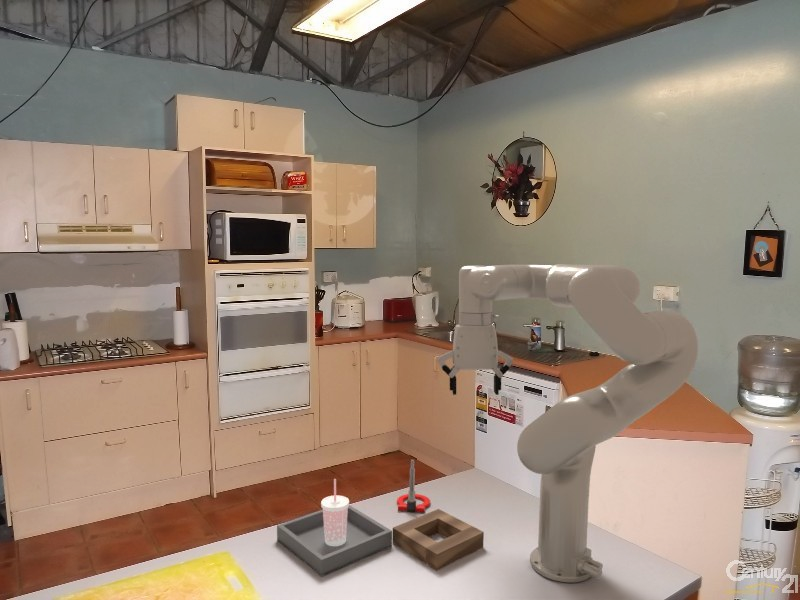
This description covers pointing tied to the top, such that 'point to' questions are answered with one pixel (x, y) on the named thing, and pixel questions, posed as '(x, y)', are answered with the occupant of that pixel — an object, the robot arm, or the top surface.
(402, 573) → the top surface
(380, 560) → the top surface
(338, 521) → the beverage cup
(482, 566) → the top surface
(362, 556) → the tray
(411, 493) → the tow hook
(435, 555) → the square wooden frame block
